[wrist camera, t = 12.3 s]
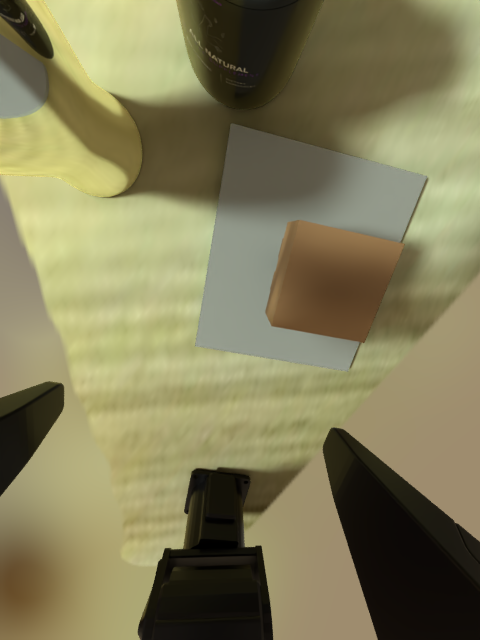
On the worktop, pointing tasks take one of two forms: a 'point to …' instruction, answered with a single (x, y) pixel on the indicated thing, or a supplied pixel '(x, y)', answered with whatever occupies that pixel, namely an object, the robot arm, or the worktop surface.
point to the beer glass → (59, 109)
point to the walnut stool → (330, 280)
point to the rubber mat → (269, 229)
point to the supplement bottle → (245, 45)
